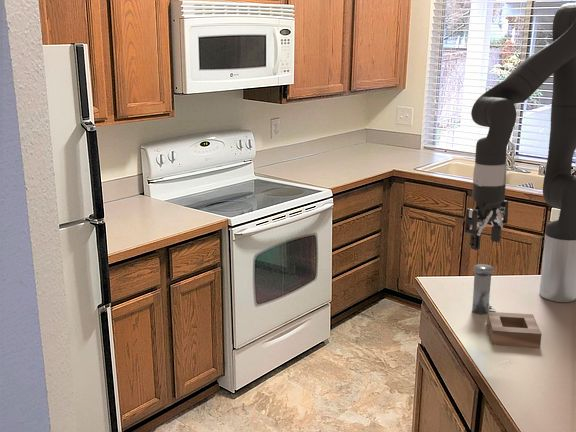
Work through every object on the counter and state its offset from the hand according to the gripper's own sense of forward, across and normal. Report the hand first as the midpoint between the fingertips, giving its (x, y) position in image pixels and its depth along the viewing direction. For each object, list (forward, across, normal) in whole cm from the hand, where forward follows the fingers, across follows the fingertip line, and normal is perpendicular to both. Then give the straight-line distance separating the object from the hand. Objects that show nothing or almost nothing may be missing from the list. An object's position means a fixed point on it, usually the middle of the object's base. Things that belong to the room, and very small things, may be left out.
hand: (485, 245), depth 152 cm
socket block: (+18, +6, +12) cm, 23 cm away
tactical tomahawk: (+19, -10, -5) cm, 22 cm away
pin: (+18, 0, -1) cm, 18 cm away
